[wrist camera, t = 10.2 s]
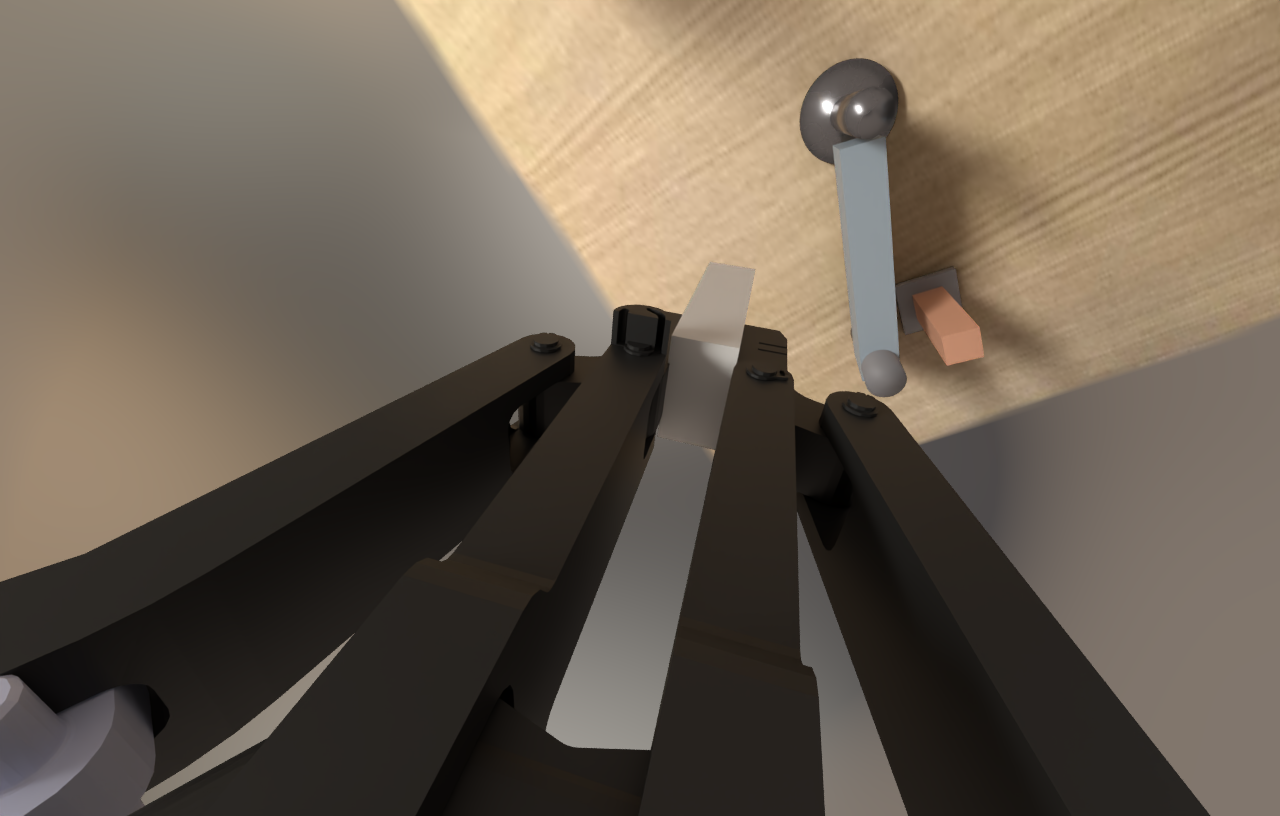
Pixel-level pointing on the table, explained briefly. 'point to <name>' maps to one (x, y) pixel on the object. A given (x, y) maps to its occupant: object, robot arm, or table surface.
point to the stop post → (939, 315)
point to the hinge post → (848, 106)
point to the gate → (869, 261)
